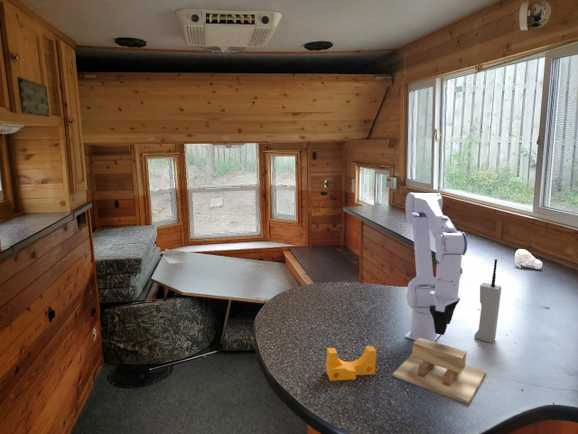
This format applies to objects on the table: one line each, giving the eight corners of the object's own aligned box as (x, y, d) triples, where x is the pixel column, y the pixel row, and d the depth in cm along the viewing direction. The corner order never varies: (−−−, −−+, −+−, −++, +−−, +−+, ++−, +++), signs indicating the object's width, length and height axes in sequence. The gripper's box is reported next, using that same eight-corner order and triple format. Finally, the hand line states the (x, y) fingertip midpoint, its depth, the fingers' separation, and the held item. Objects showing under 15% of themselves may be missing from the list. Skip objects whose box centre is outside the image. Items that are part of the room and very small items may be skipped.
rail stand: (416, 351, 117) (417, 340, 116) (485, 374, 106) (487, 362, 105) (392, 376, 104) (393, 363, 103) (468, 404, 93) (469, 391, 93)
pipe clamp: (330, 381, 102) (331, 356, 100) (326, 371, 106) (327, 348, 105) (377, 378, 103) (378, 354, 102) (371, 369, 107) (372, 345, 106)
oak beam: (417, 351, 110) (418, 337, 109) (465, 366, 103) (466, 351, 102) (411, 357, 107) (413, 343, 106) (460, 373, 100) (462, 358, 99)
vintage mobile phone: (477, 334, 128) (486, 255, 124) (495, 339, 125) (504, 259, 121) (474, 338, 125) (483, 258, 121) (491, 343, 122) (501, 261, 118)
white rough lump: (517, 247, 203) (545, 253, 197) (513, 263, 205) (541, 270, 199) (515, 249, 198) (544, 256, 192) (511, 266, 200) (539, 273, 194)
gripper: (437, 268, 115) (433, 315, 117) (424, 283, 102) (420, 334, 105) (464, 273, 111) (459, 321, 114) (455, 289, 99) (449, 342, 101)
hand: (442, 328), depth 109 cm, fingers open, 7 cm apart
